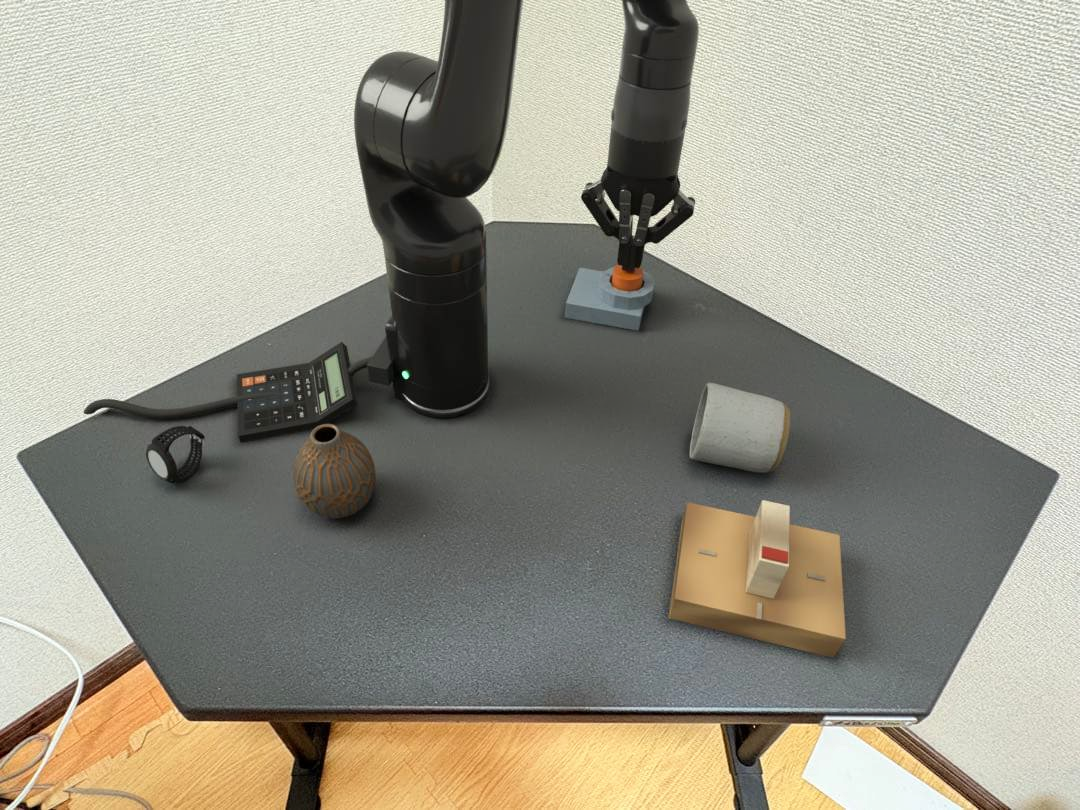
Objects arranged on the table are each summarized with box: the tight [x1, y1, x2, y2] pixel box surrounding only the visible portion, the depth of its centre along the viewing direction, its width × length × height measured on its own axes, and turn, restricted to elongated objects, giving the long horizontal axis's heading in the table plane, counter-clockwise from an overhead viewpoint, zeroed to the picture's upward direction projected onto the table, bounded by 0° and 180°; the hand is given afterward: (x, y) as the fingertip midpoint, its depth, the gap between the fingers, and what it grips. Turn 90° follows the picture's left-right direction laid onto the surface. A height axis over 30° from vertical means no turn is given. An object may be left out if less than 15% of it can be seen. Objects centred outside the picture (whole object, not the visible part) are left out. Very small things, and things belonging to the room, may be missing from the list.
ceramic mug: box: [689, 382, 791, 474], centre depth 71 cm, size 11×8×8 cm
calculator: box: [236, 341, 359, 443], centre depth 75 cm, size 9×12×3 cm
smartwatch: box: [145, 425, 206, 484], centre depth 66 cm, size 4×5×5 cm
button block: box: [564, 266, 656, 332], centre depth 88 cm, size 10×8×4 cm
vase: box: [292, 423, 377, 519], centre depth 63 cm, size 7×7×9 cm
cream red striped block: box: [746, 499, 791, 599], centre depth 58 cm, size 6×2×5 cm, turn 165°
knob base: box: [668, 501, 847, 659], centre depth 60 cm, size 13×10×3 cm
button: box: [612, 264, 644, 292], centre depth 86 cm, size 4×4×2 cm
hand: (628, 267), depth 86 cm, fingers closed
